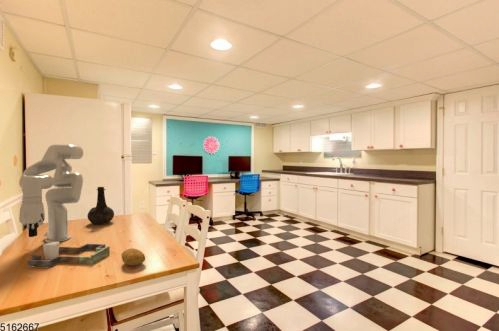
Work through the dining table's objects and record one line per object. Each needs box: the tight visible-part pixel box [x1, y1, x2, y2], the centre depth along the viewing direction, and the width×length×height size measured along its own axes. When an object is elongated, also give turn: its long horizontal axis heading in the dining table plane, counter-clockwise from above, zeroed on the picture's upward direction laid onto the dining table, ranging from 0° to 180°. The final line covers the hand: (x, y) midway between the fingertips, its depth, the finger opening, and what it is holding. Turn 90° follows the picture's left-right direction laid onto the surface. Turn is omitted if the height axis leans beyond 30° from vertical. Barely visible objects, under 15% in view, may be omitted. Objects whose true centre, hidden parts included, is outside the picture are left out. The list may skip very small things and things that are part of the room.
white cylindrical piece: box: [42, 241, 60, 260], centre depth 133 cm, size 7×7×7 cm
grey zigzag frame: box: [27, 243, 111, 269], centre depth 132 cm, size 32×24×4 cm
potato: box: [121, 247, 146, 267], centre depth 124 cm, size 9×13×7 cm
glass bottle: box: [87, 186, 115, 226], centre depth 198 cm, size 18×18×28 cm
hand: (33, 236), depth 132 cm, fingers closed
